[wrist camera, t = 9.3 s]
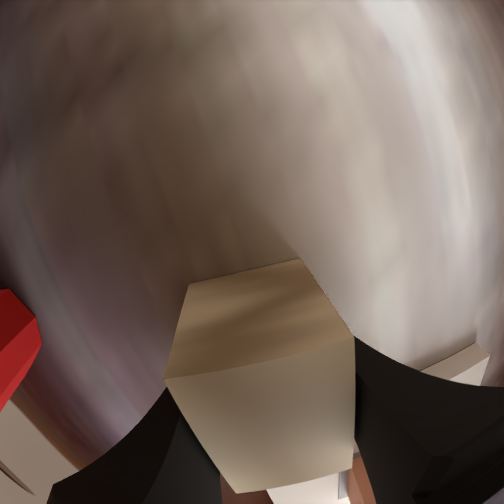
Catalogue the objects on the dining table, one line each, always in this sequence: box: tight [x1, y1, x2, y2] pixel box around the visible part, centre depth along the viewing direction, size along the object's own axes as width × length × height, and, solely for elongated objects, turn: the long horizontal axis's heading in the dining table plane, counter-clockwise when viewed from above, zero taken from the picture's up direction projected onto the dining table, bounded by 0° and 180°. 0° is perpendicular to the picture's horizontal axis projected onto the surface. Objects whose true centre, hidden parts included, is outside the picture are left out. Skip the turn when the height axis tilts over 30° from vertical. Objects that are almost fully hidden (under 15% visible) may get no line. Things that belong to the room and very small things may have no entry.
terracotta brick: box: [347, 456, 376, 504], centre depth 11 cm, size 4×6×5 cm, turn 13°
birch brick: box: [163, 258, 355, 493], centre depth 9 cm, size 4×6×5 cm, turn 12°
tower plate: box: [266, 343, 490, 504], centre depth 14 cm, size 14×14×2 cm
